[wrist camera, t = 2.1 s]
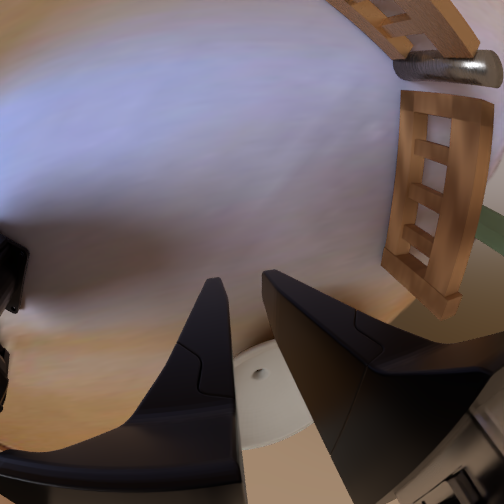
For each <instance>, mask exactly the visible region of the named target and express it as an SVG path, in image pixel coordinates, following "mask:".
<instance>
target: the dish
mask: <svg viewBox="0 0 504 504" xmlns="http://www.w3.org/2000/svg"><path fill="white" fill-rule="evenodd" d="M233 362H234V374H235V385H236V397H237V407H238V418H239V428H240V438H241V448H242V450H248V449H254V448H259V447H263V446H267V445H270V444H273V443H276V442H279V441H281V440H284V439H286V438H288V437H290V436H292V435H294V434H296V433H298V432H300V431H302V430H303V429H305V428H307V427H308V426H310V425H311V424H313V423H314V421H313V419H312V417H311V415H310V413H309V411H308V409H307V406H306V404H305V402H304V400H303V398H302V396H301V394H300V392H299V390H298V388H297V385H296V383H295V381H294V379H293V377H292V375H291V373H290V371H289V368H288V366H287V364H286V362H285V360H284V358H283V356H282V354H281V351H280V349H279V347H278V345H277V343H276V340H275V339H273V340H269V341H266V342H263V343H260V344H258V345H255V346H253V347H251V348H249V349H247V350H245V351H243V352H241V353H240V354H238V355H237V356H235V357H234V358H233ZM259 369H262V370H260V371H257V370H259Z"/></svg>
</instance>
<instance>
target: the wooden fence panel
mask: <svg viewBox="0 0 504 504" xmlns="http://www.w3.org/2000/svg"><path fill="white" fill-rule="evenodd" d="M326 1H327V2H328V3H330V4H331V5H332V6H334V7H335V8H336V9H337V10H339V11H340V12H341V13H342V14H343V15H345V16H346V17H347V18H348V19H349V20H351V21H352V22H353V23H354V24H355V25H356V26H357V27H359V28H360V29H361V30H362V31H363V32H364V33H365V34H366V35H367V36H368V37H369V38H371V39H372V40H373V41H374V42H375V43H376V44H377V45H378V46H379V47H380V48H381V49H382V50H383V51H384V52H385V53H386V54H387V55H388V56H389V57H390V58H391V59H392V60H393V67H394V70H395V72H396V74H397V75H398V76H399V77H400V78H401V79H403V80H419V81H438V82H451V83H461V84H471V85H479V86H486V87H493V88H499V87H500V86H501V84H502V82H503V68H502V64H501V61H500V59H499V57H498V56H497V54H496V53H495V52H494V51H491V50H477V49H478V47H479V44H480V41H479V40H478V38H477V37H476V35H475V34H474V32H473V31H472V29H471V28H470V26H469V25H468V24H467V22H466V21H465V19H464V18H463V17H462V15H461V14H460V13H459V11H458V10H457V9H456V7H455V6H454V5H453V3H452V2H451V1H450V0H394V1H395V2H396V3H397V4H398V5H399V6H400V7H401V8H402V9H403V10H404V11H405V12H406V13H404V14H400V15H396V16H391V17H386V16H385V15H384V14H383V13H382V12H381V11H380V10H379V9H378V8H377V7H376V6H375V5H374V4H372V3H371V2H370V1H369V0H326ZM422 33H425V35H426V36H427V37H428V38H429V39H430V41H431V42H432V43H433V44H434V46H435V47H436V48H437V49H438V50H425V51H411V52H410V50H411V49H412V47H413V44H412V43H411V42H410V41H409V40H408V39H407V37H406V36H407V35H414V34H422Z"/></svg>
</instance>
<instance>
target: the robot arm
mask: <svg viewBox="0 0 504 504" xmlns="http://www.w3.org/2000/svg"><path fill="white" fill-rule="evenodd" d="M21 253H23V254H24V255H25V256H23V255H22V254H21ZM28 258H29V252H28V250H27V249H26V248H25V247H23V246H21V245H19V244H17V243H15V242H13V241H11V240H9V239H7V237H5V236H3V235H1V234H0V316H1V314H2V313H3V311H4V309H6V310H8V311H10V312H12V313H14V314H16V313H18V311H19V309H20V302H21V296H22V289H23V284H24V278H25V273H26V268H27V263H28ZM262 298H263V302H264V306H265V309H266V312H267V315H268V319H269V322H270V325H271V328H272V331H273V335H274V338H275V340H276V343H277V345H278V347H279V349H280V351H281V354H282V356H283V358H284V360H285V362H286V364H287V366H288V368H289V371H290V373H291V375H292V377H293V379H294V381H295V383H296V385H297V388H298V390H299V392H300V394H301V396H302V398H303V400H304V402H305V404H306V406H307V409H308V411H309V413H310V415H311V417H312V419H313V421H314V423H315V425H316V427H317V429H318V431H319V433H320V435H321V437H322V440H323V442H324V444H325V446H326V448H327V450H328V452H329V454H330V455H331V458H332V460H333V462H334V464H335V466H336V469H337V471H338V473H339V475H340V477H341V479H342V481H343V483H344V485H345V487H346V489H347V491H348V493H349V495H350V497H351V499H352V501H353V503H354V504H386V503H388V502H390V501H392V500H394V499H396V498H397V499H398V501H399V503H400V504H504V331H503V332H499V333H496V334H492V335H488V336H484V337H480V338H476V339H472V340H468V341H463V342H459V343H454V344H442V343H436V342H433V341H430V340H428V339H425V338H422V337H420V336H417V335H414V334H412V333H409V332H407V331H404V330H401V329H399V328H396V327H394V326H391V325H389V324H387V323H384V322H382V321H379V320H377V319H375V318H373V317H371V316H369V315H367V314H365V313H363V312H361V311H359V310H357V311H356V309H354V308H352V307H350V306H348V305H346V304H344V303H342V302H340V301H338V300H336V299H334V298H332V297H330V296H328V295H326V294H324V293H322V292H320V291H318V290H316V289H314V288H312V287H310V286H308V285H306V284H304V283H302V282H300V281H298V280H296V279H294V278H292V277H290V276H288V275H286V274H284V273H282V272H280V271H278V270H267V271H263V273H262ZM14 307H15V308H14ZM9 355H10V354H9V353H8V351H7V350H6V349H5V348H3V347H2V345H1V344H0V412H1V411H2V410H3V404H4V401H5V398H6V393H7V388H8V380H9V379H8V378H7V377H8V365H9ZM0 494H1V495H3V496H4V497H6V498H7V499H9V500H10V501H12V502H14V503H15V504H248V501H247V493H246V484H245V475H244V467H243V457H242V448H241V438H240V428H239V418H238V407H237V397H236V385H235V374H234V362H233V350H232V339H231V327H230V314H229V302H228V297H227V294H226V291H225V288H224V286H223V283H222V280H221V278H219V277H217V278H210V279H207V280H206V282H205V284H204V286H203V288H202V290H201V292H200V294H199V296H198V299H197V301H196V303H195V305H194V307H193V309H192V311H191V313H190V315H189V317H188V319H187V322H186V324H185V326H184V328H183V330H182V332H181V334H180V336H179V339H178V341H177V344H176V345H175V347H174V349H173V351H172V353H171V355H170V357H169V359H168V361H167V363H166V365H165V366H164V368H163V370H162V371H161V373H160V374H159V376H158V378H157V379H156V381H155V382H154V384H153V385H152V387H151V388H150V390H149V391H148V393H147V394H146V396H145V397H144V399H143V400H142V402H141V403H140V405H139V406H138V408H137V409H136V411H135V412H134V413H133V415H132V416H131V417H130V418H129V419H128V420H127V421H126V422H125V423H124V424H123V425H121V426H120V427H118V428H115V429H113V430H111V431H108V432H106V433H103V434H101V435H98V436H96V437H93V438H91V439H88V440H85V441H83V442H80V443H77V444H75V445H72V446H69V447H66V448H63V449H60V450H55V451H50V452H28V451H22V450H13V449H10V450H5V451H3V452H0Z"/></svg>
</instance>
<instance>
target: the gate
mask: <svg viewBox="0 0 504 504" xmlns="http://www.w3.org/2000/svg"><path fill="white" fill-rule="evenodd" d="M428 114H430V115H435V116H440V117H446V118H451V119H452V121H451V135H450V146H449V147H447V146H444V145H440V144H437V143H433V142H430V141H426V136H427V121H428ZM493 122H494V104H492V103H490V102H487V101H485V100H482V99H477V98H471V97H465V96H458V95H450V94H441V93H432V92H421V91H407V90H401V102H400V126H399V142H398V155H397V166H396V175H395V184H394V192H393V200H392V207H391V214H390V221H389V227H388V233H387V239H386V245H385V247H384V251H383V256H382V261H381V266H382V267H383V268H384V269H385V270H387V271H388V272H389V273H390V274H391V275H392V276H393V277H394V278H395V279H396V280H398V281H399V282H400V283H401V284H402V285H403V286H404V287H405V288H406V289H407V290H408V291H410V292H411V293H412V294H413V295H414V296H415V297H416V298H417V299H418V300H419V301H420V302H421V303H422V304H424V306H426V307H427V308H428V309H429V310H430V311H431V312H432V313H433V314H434V315H435V316H436V317H437V318H438V319H439V320H440V321H442V320H444V319H446V318H449V317H451V316H453V315H455V314H456V312H457V309H458V307H459V304H460V301H461V299H462V296H463V295H462V294H460V293H459V292H458V290H459V287H460V284H461V281H462V278H463V275H464V272H465V269H466V266H467V263H468V259H469V256H470V252H471V249H472V245H473V242H474V238H475V234H476V230H477V226H478V222H479V218H480V213H481V208H482V204H483V199H484V193H485V188H486V182H487V176H488V169H489V162H490V154H491V145H492V135H493ZM424 158H427V159H430V160H433V161H435V162H438V163H441V164H444V165H446V166H447V172H446V179H445V186H444V192H443V194H442V193H440V192H438V191H436V190H434V189H432V188H429V187H427V186H425V185H423V184H421V183H422V176H423V167H424ZM418 203H420V204H422V205H424V206H426V207H427V208H429V209H431V210H433V211H435V212H437V213H438V214H439V219H438V224H437V229H436V234H435V238H434V237H433V236H431V235H430V234H428V233H427V232H425V231H424V230H422V229H420V228H419V227H417V226H416V225H415V221H416V215H417V209H418ZM411 245H412V246H414V247H415V248H416V249H418V250H419V251H420V252H422V253H423V254H424V255H426V256H427V257H429V258H430V259H429V263H428V266H426V265H425V264H423V263H422V262H421V261H420V260H418V259H417V258H416V257H414V256H413V255H412V254H410V253H409V251H410V246H411Z"/></svg>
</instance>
